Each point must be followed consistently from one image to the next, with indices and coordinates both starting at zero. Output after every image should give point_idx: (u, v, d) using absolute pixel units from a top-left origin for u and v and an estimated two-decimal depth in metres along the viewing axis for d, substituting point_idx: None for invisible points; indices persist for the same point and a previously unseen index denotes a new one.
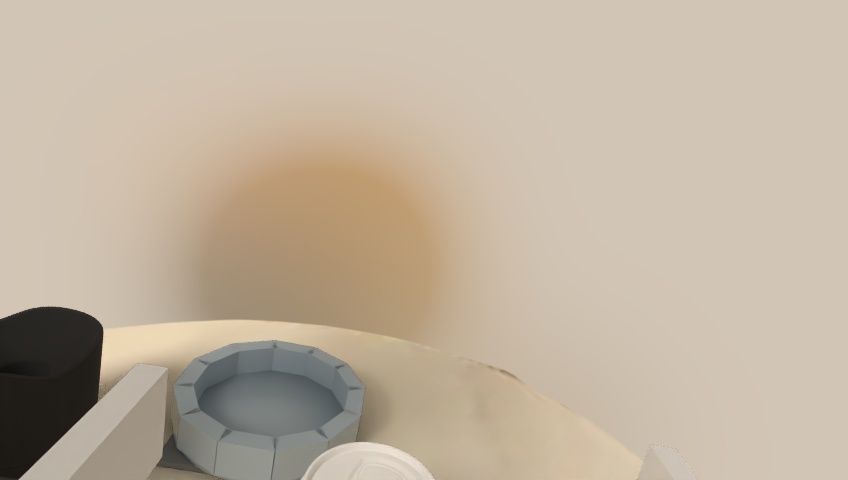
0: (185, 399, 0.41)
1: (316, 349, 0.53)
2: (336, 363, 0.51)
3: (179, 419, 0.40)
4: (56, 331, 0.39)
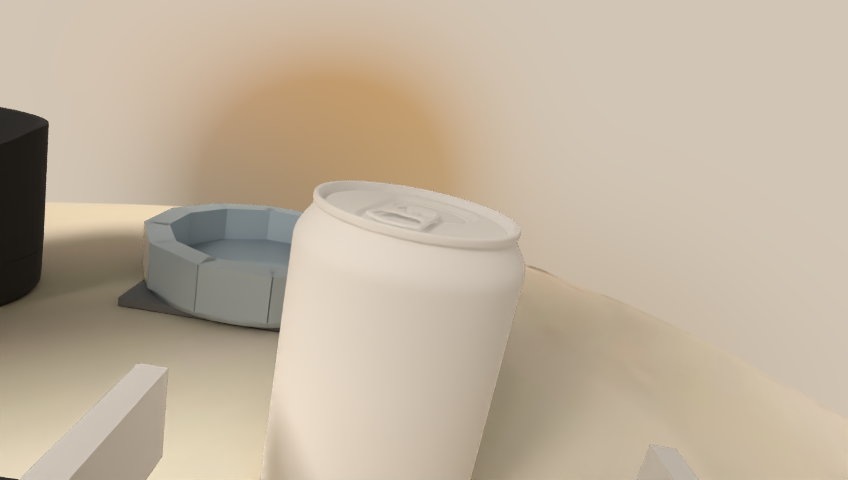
0: (158, 232, 0.33)
1: None
2: None
3: (150, 248, 0.31)
4: None
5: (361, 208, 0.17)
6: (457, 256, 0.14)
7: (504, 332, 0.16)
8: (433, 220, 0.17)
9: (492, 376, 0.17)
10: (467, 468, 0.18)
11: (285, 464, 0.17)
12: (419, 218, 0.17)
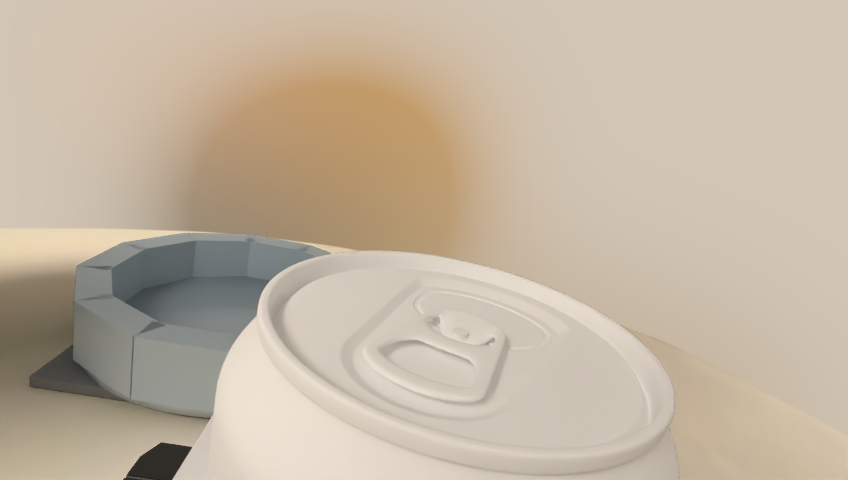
0: (91, 283, 0.25)
1: (312, 247, 0.36)
2: None
3: (74, 308, 0.23)
4: None
5: (354, 332, 0.08)
6: None
7: None
8: (498, 360, 0.08)
9: None
10: None
11: None
12: (470, 356, 0.08)
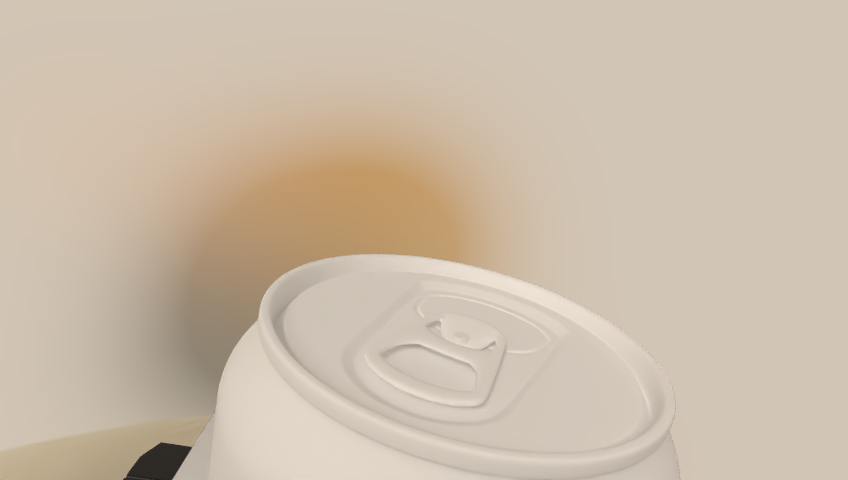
0: None
1: None
2: None
3: None
4: None
5: (355, 336, 0.08)
6: None
7: None
8: (498, 364, 0.08)
9: None
10: None
11: None
12: (471, 360, 0.08)
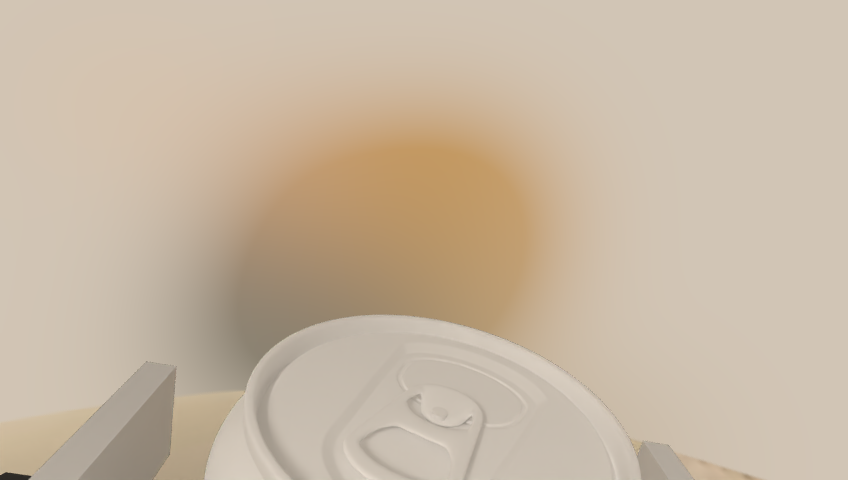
0: None
1: None
2: None
3: None
4: None
5: (336, 419, 0.09)
6: None
7: None
8: (473, 448, 0.09)
9: None
10: None
11: None
12: (447, 444, 0.09)
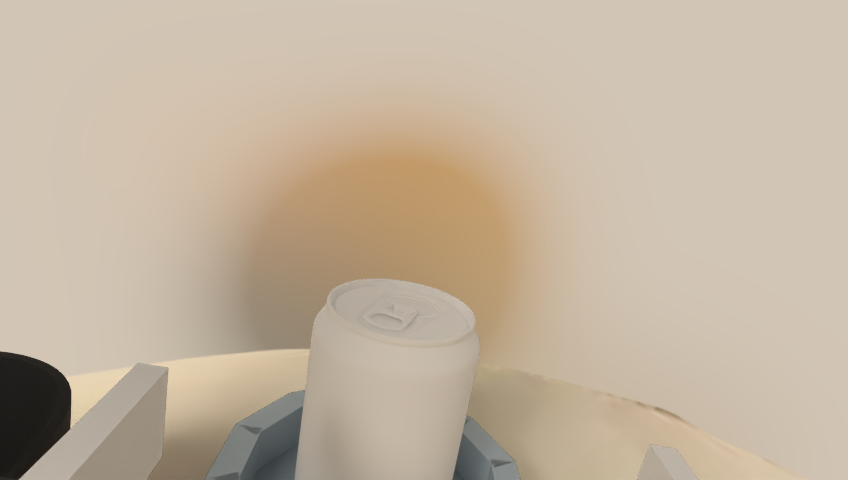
0: None
1: None
2: None
3: None
4: None
5: (360, 311, 0.24)
6: (425, 352, 0.21)
7: (463, 398, 0.23)
8: (411, 319, 0.23)
9: (456, 429, 0.23)
10: None
11: None
12: (401, 318, 0.23)
